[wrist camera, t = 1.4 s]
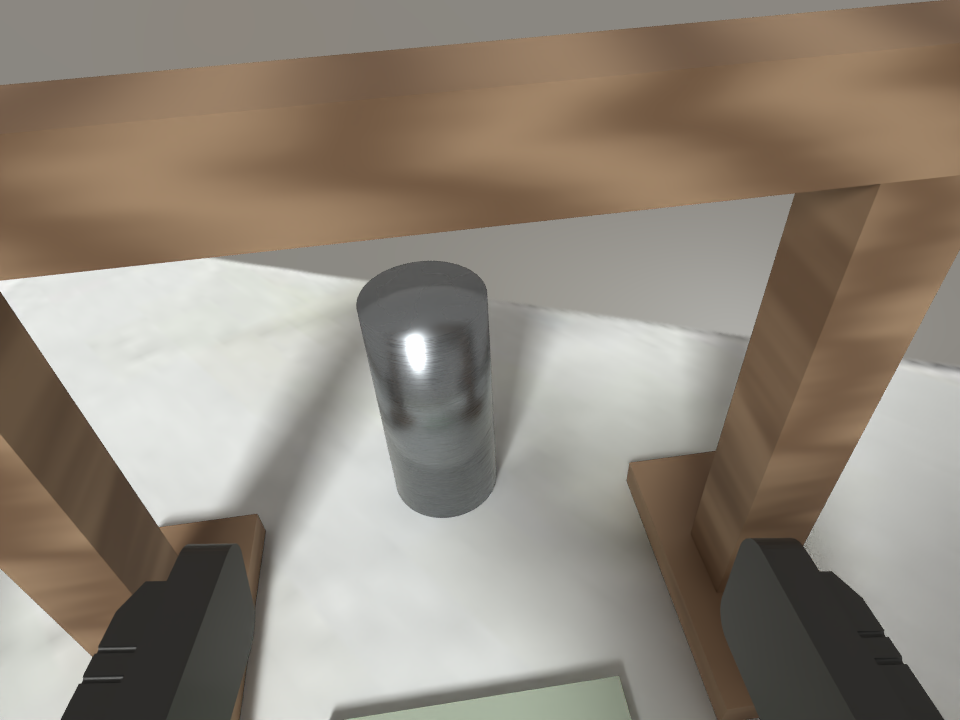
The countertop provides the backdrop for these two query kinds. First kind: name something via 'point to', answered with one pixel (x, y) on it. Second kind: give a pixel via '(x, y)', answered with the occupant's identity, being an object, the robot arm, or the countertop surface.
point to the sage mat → (531, 705)
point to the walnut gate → (494, 202)
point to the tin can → (433, 382)
